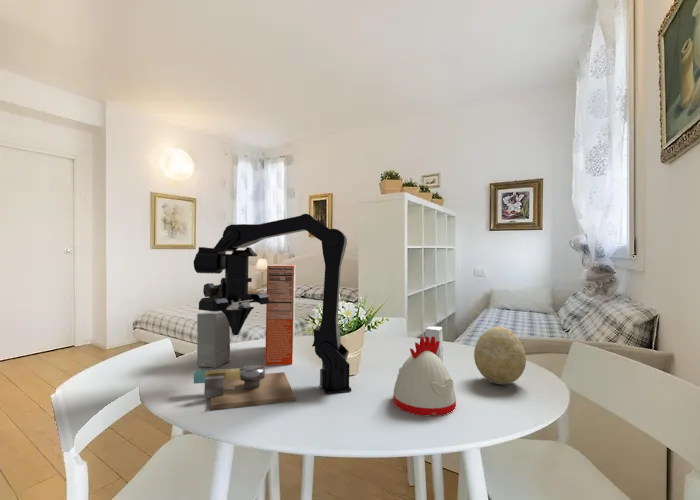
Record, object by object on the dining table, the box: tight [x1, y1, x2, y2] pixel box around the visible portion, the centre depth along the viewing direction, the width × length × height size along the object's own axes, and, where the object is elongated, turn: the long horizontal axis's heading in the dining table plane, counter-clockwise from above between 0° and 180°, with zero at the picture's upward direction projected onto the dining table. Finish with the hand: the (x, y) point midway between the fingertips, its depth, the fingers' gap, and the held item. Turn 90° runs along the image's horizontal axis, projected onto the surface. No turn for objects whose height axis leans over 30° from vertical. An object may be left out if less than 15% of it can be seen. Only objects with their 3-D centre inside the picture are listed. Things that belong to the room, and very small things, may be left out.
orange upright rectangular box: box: [264, 263, 297, 366], centre depth 120 cm, size 23×8×30 cm, turn 7°
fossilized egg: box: [473, 325, 527, 385], centre depth 96 cm, size 13×13×15 cm
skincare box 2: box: [425, 325, 444, 363], centre depth 108 cm, size 6×4×12 cm
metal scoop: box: [193, 364, 266, 384], centre depth 86 cm, size 16×6×2 cm, turn 104°
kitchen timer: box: [392, 335, 457, 416], centre depth 82 cm, size 14×14×15 cm
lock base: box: [203, 371, 296, 411], centre depth 88 cm, size 20×19×5 cm
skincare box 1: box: [196, 311, 231, 369], centre depth 109 cm, size 8×7×16 cm
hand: (235, 334), depth 92 cm, fingers closed
